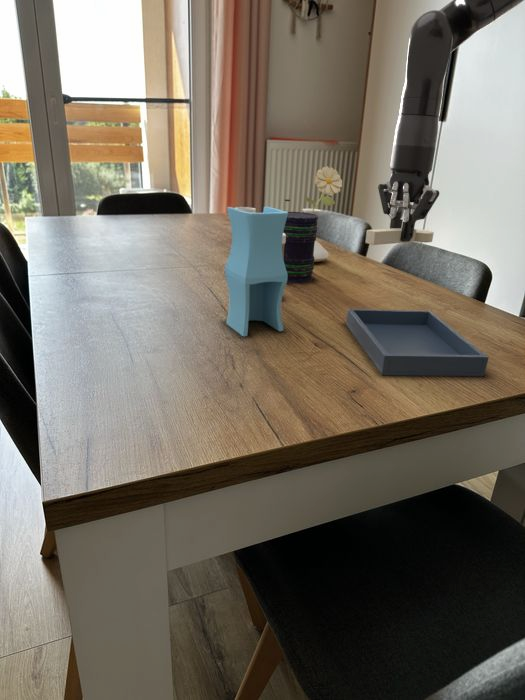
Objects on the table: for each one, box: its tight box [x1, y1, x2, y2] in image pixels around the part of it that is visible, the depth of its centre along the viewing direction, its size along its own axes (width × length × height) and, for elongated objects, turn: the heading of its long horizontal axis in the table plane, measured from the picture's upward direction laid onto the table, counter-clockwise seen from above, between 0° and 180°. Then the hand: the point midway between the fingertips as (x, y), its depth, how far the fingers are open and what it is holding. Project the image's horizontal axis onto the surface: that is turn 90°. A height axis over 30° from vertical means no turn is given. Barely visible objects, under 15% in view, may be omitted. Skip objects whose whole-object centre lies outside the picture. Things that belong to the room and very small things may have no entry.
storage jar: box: [283, 198, 319, 284], centre depth 121 cm, size 10×10×18 cm
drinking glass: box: [234, 206, 257, 213], centre depth 165 cm, size 7×7×10 cm
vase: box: [224, 206, 289, 337], centre depth 87 cm, size 8×8×20 cm
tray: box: [345, 308, 489, 377], centre depth 84 cm, size 16×22×3 cm
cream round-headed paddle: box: [365, 228, 435, 246], centre depth 99 cm, size 16×5×2 cm, turn 122°
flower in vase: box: [302, 165, 343, 263], centre depth 138 cm, size 13×11×25 cm
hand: (399, 239), depth 99 cm, fingers closed on cream round-headed paddle, 2 cm apart
